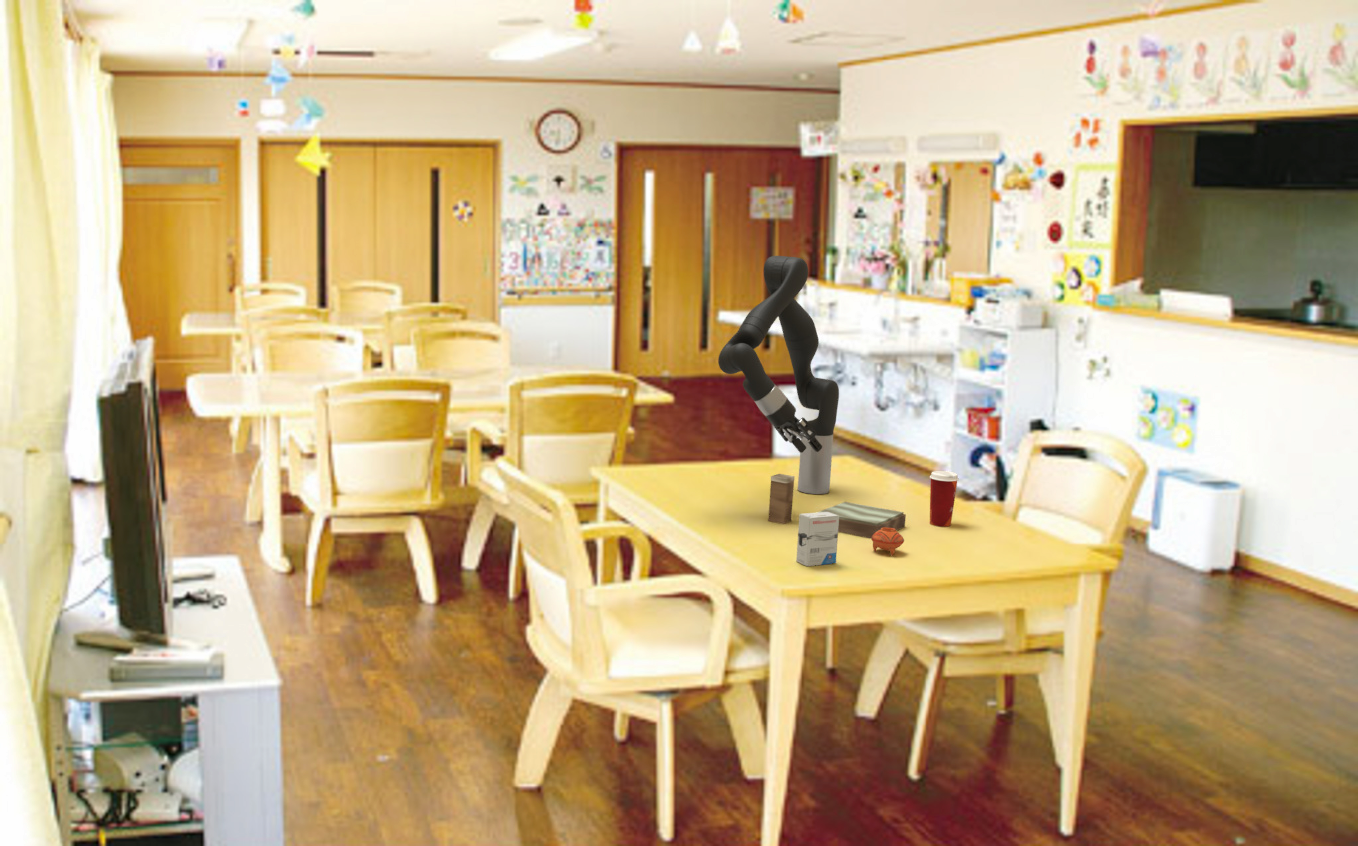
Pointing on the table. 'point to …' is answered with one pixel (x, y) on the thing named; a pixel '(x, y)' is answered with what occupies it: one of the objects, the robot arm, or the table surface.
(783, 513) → the block
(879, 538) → the pot
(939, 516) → the paper cup
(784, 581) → the table surface
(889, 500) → the table surface
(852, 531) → the block
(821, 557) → the ink box
